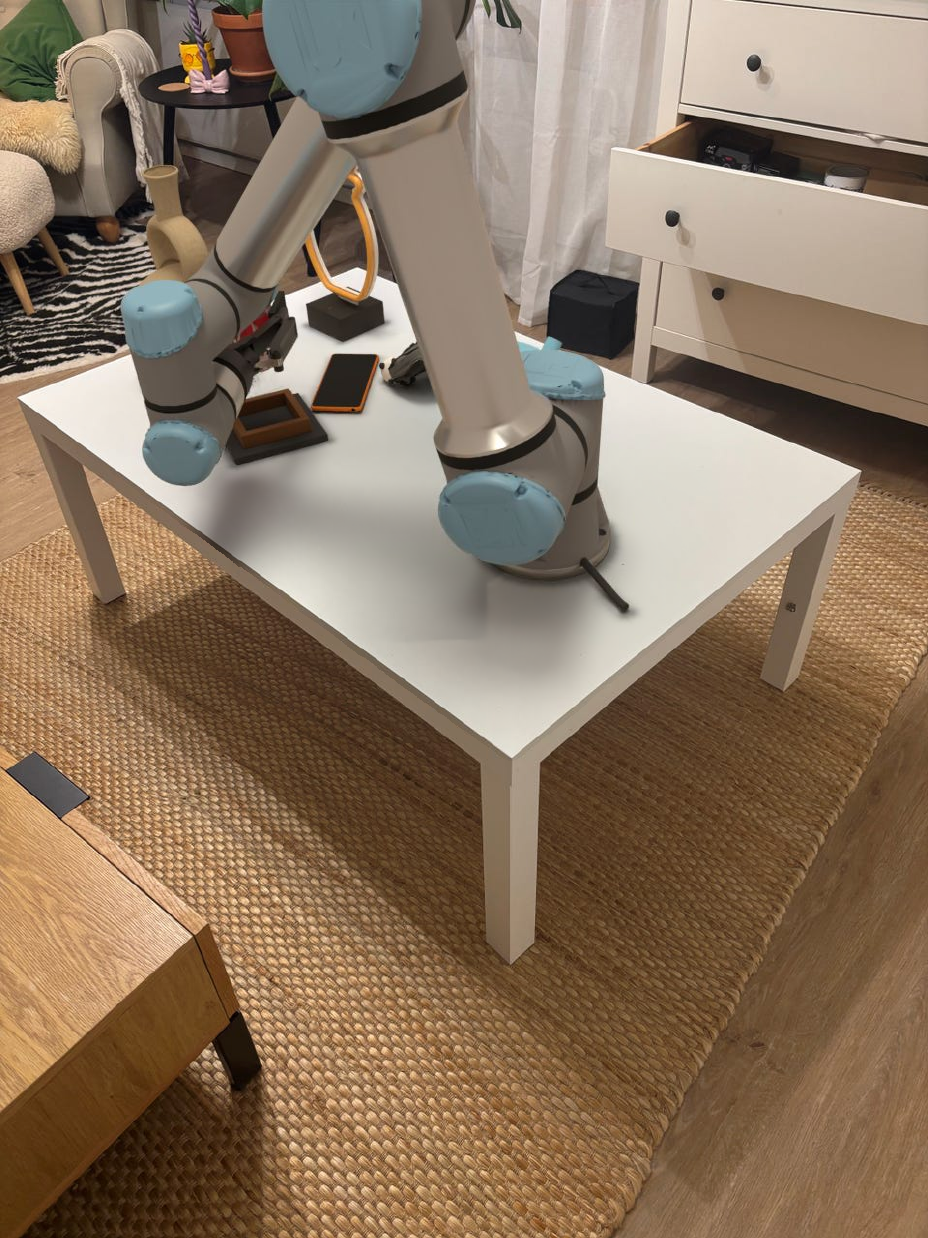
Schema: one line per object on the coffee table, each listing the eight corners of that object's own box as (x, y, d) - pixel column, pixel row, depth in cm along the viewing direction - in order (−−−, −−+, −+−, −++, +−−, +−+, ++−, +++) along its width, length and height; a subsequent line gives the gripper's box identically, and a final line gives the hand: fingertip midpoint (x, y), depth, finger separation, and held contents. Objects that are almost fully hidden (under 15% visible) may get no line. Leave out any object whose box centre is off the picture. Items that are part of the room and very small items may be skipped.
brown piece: (328, 440, 137) (325, 421, 135) (236, 465, 133) (232, 445, 131) (299, 398, 146) (296, 379, 144) (212, 420, 142) (207, 401, 140)
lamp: (293, 318, 166) (261, 111, 145) (335, 301, 170) (309, 98, 149) (359, 349, 157) (335, 133, 136) (401, 330, 161) (384, 118, 140)
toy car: (478, 376, 158) (449, 327, 157) (524, 345, 148) (493, 292, 146) (398, 423, 149) (366, 371, 147) (440, 393, 138) (407, 337, 137)
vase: (280, 378, 151) (244, 171, 131) (179, 415, 143) (124, 201, 123) (229, 340, 161) (189, 142, 141) (132, 372, 153) (75, 169, 133)
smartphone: (379, 357, 154) (379, 352, 154) (361, 413, 142) (361, 408, 141) (331, 356, 155) (331, 351, 154) (309, 412, 142) (308, 407, 142)
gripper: (139, 416, 117) (192, 327, 134) (300, 417, 116) (332, 327, 133) (123, 358, 112) (179, 273, 129) (290, 358, 111) (325, 272, 128)
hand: (257, 300), depth 131 cm, fingers closed on beverage can, 6 cm apart
